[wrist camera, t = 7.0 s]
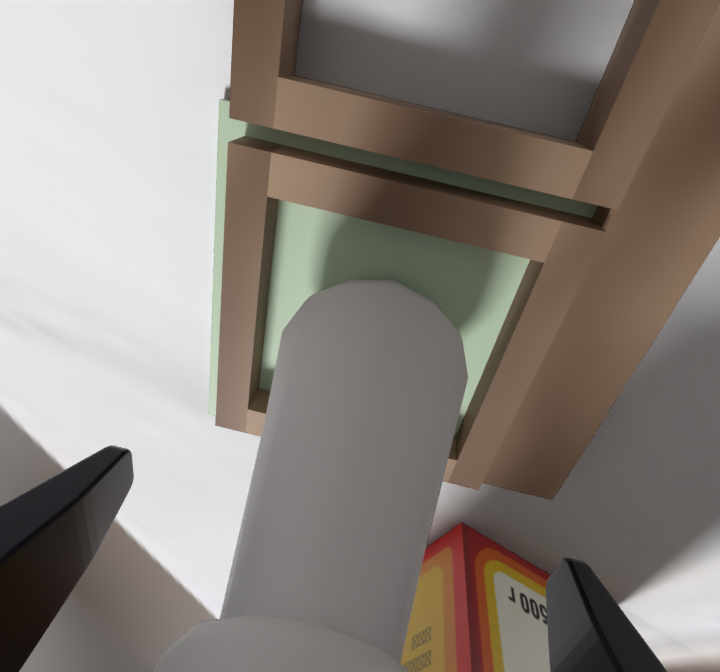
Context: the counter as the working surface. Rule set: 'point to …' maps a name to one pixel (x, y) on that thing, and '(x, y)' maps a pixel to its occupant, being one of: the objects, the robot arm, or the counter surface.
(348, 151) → the card
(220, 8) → the counter surface
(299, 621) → the salt shaker
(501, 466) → the frame
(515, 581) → the baking soda box
